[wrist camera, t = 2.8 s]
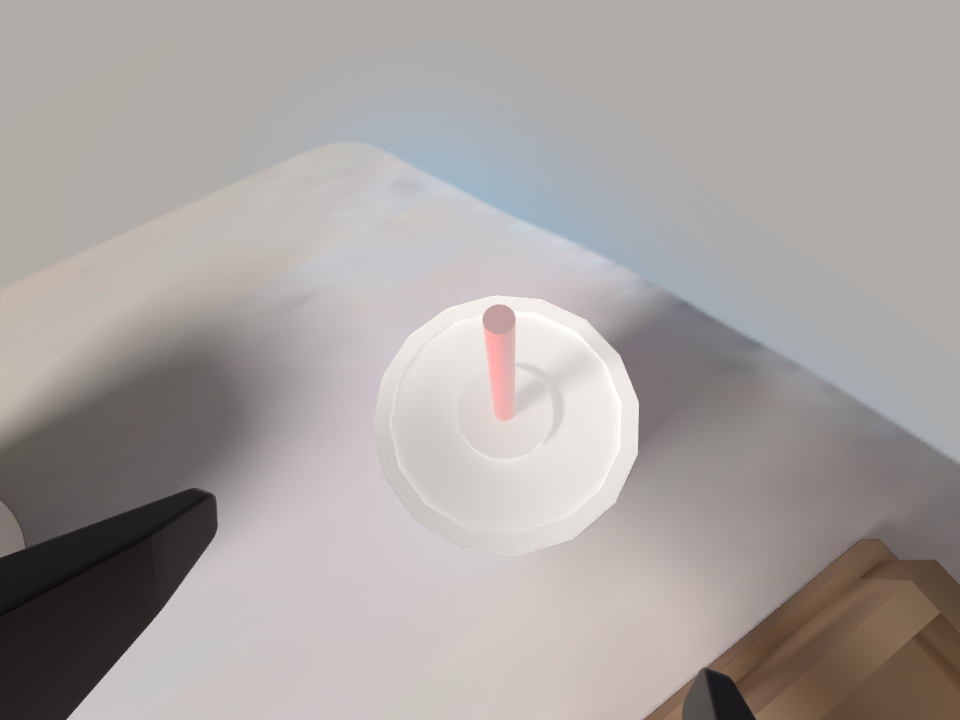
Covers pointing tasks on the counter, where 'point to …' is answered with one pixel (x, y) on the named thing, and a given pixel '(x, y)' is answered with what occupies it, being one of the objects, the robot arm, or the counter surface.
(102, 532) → the robot arm
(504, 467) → the beverage cup
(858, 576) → the tray
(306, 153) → the counter surface
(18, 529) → the grey upright cylinder
